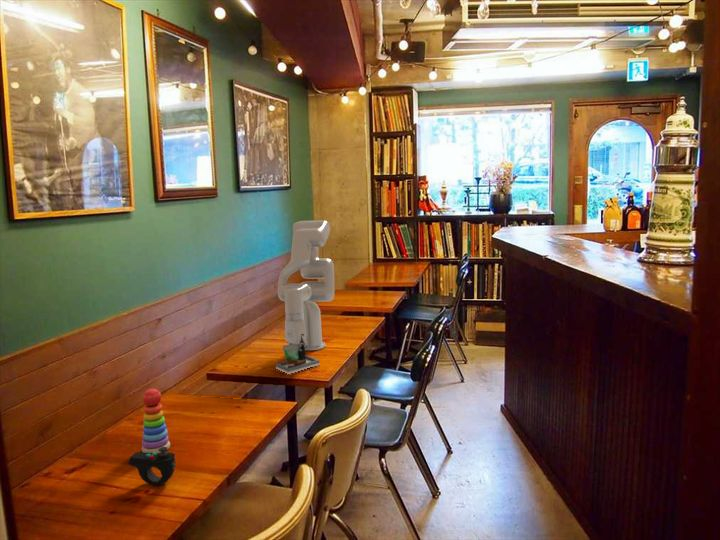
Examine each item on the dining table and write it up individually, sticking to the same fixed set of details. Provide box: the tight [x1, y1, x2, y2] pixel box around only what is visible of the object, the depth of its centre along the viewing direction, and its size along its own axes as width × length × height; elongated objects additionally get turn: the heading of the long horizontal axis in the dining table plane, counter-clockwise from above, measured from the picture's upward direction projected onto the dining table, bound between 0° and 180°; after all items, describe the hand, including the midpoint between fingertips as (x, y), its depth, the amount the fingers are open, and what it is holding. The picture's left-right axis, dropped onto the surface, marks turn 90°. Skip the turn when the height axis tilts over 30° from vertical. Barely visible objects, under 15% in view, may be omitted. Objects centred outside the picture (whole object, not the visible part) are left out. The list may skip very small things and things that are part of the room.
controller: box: [128, 447, 177, 486], centre depth 144 cm, size 4×12×10 cm, turn 80°
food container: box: [282, 342, 306, 368], centre depth 231 cm, size 12×6×10 cm, turn 151°
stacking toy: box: [141, 388, 171, 453], centre depth 162 cm, size 8×8×19 cm
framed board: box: [275, 354, 321, 375], centre depth 232 cm, size 10×16×2 cm, turn 129°
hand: (297, 357), depth 232 cm, fingers open, 6 cm apart
